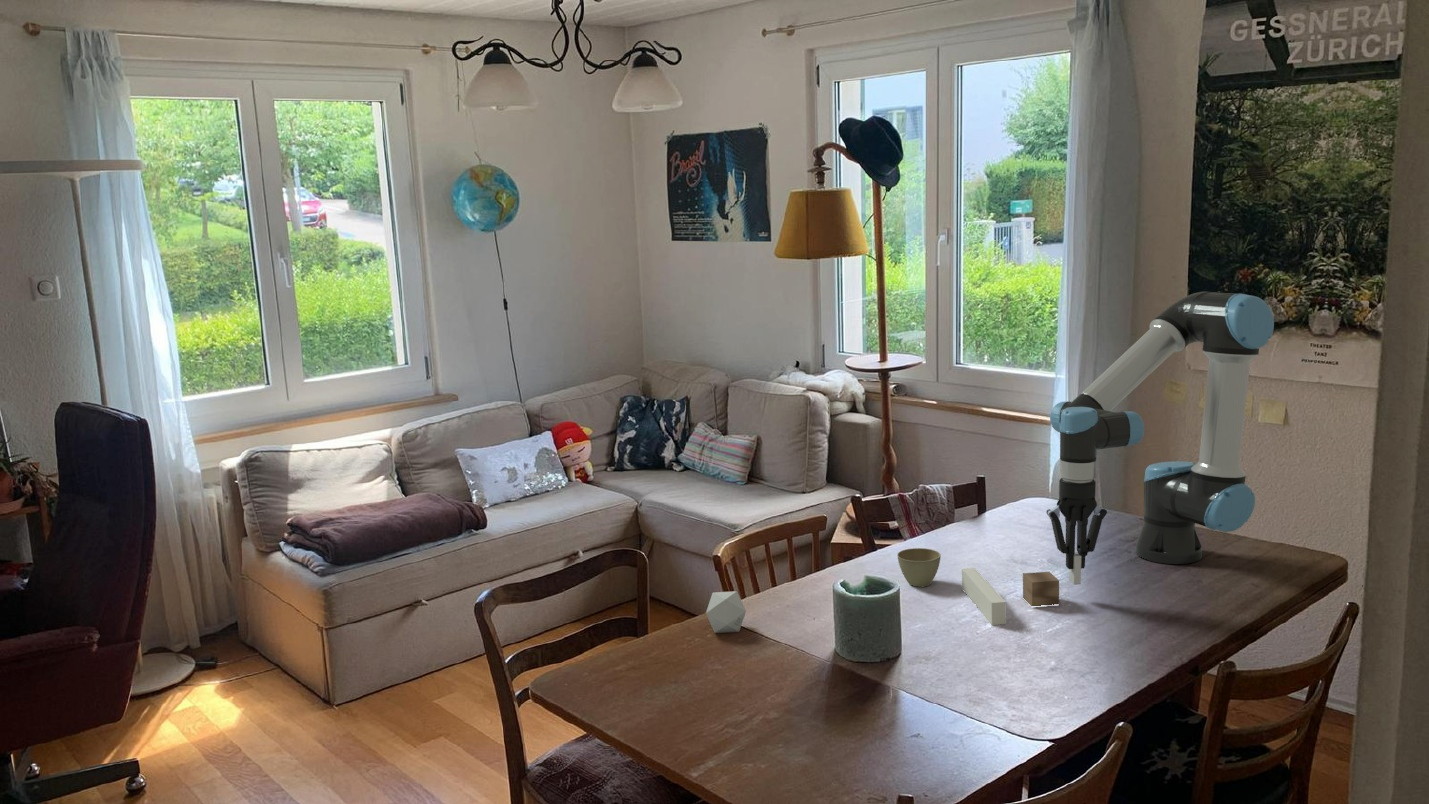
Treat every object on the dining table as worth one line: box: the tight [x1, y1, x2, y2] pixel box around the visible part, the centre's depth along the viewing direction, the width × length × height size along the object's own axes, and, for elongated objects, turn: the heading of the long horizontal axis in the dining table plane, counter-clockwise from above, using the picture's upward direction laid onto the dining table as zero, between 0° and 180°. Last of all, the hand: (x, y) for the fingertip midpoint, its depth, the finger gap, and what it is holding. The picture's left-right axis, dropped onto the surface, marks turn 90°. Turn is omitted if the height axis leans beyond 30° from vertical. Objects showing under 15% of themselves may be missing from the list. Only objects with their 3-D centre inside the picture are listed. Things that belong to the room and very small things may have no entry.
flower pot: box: [896, 547, 942, 588], centre depth 259 cm, size 10×10×7 cm
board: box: [961, 567, 1007, 626], centre depth 243 cm, size 3×22×5 cm, turn 4°
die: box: [705, 590, 747, 634], centre depth 236 cm, size 8×9×10 cm
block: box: [1022, 571, 1060, 606], centre depth 243 cm, size 6×6×6 cm
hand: (1074, 582), depth 243 cm, fingers closed
